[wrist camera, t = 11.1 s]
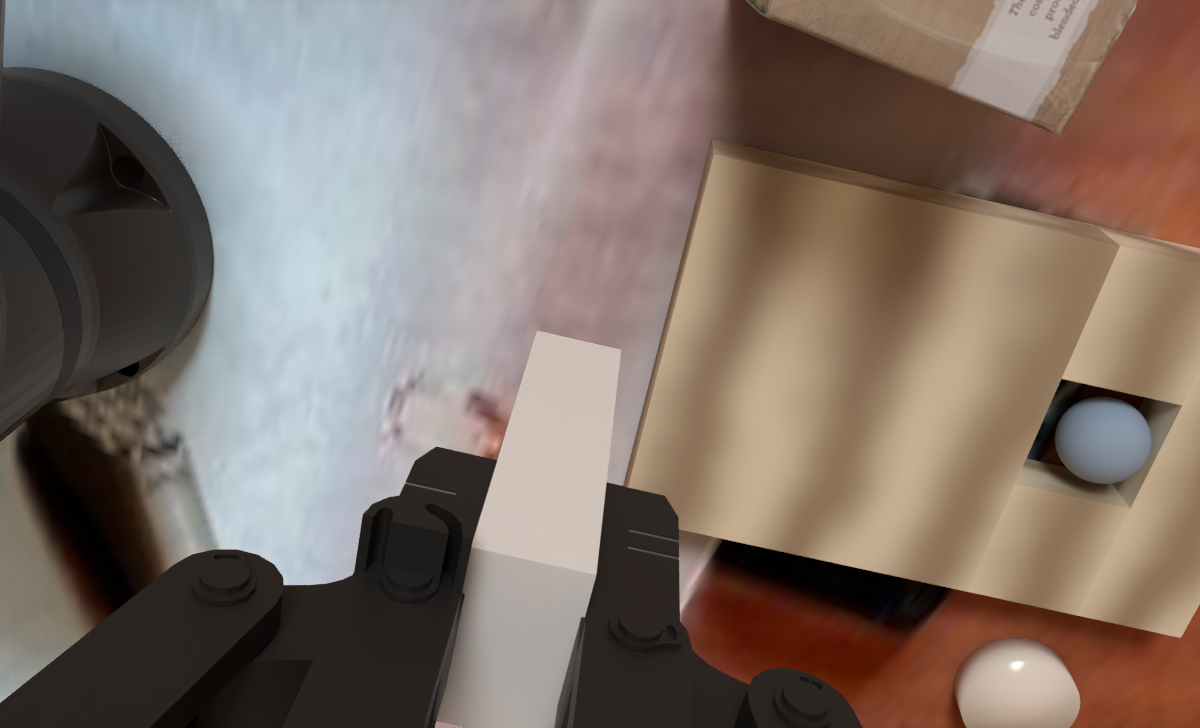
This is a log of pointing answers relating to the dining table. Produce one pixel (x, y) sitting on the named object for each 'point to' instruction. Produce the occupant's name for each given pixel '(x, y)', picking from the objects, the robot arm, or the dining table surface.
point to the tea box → (975, 45)
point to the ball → (1103, 440)
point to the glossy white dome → (1016, 687)
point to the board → (925, 388)
